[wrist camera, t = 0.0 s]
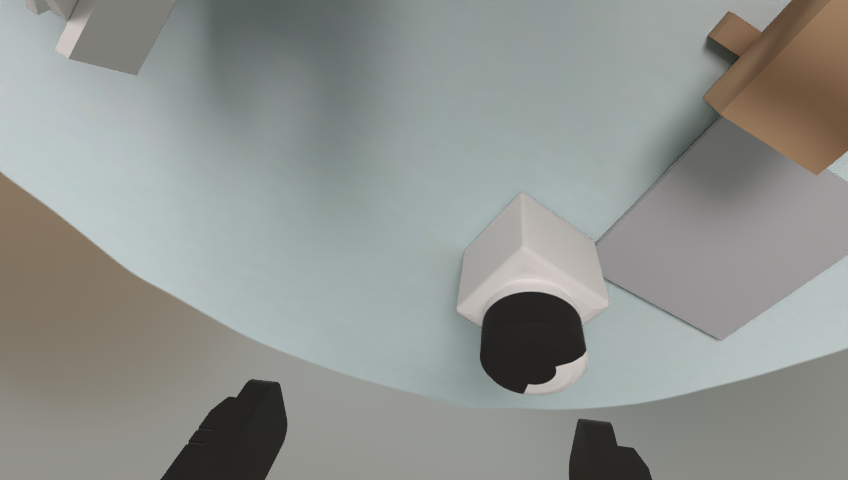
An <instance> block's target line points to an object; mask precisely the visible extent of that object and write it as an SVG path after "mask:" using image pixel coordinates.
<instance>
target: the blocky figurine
mask: <svg viewBox="0 0 848 480" xmlns="http://www.w3.org/2000/svg"><path fill="white" fill-rule="evenodd" d="M609 305H610V301H609V297H608V293H607V289H606V286H605V282H604V278H603V274H602V270H601V266H600V262H599V258H598V254H597V251H596V247H595V243H594V242H593V240H591V239H590V238H588V237H587V236H586V235H584V234H583V233H581V232H580V231H578V230H577V229H576V228H574V227H573V226H571V225H570V224H568V223H567V222H566V221H564V220H563V219H561V218H560V217H558V216H557V215H556V214H554V213H553V212H551V211H550V210H548V209H547V208H546V207H544V206H543V205H541V204H540V203H538V202H537V201H536V200H534V199H533V198H531V197H530V196H529V195H527V194H526V193H520V194H518V195H517V196H516V197H515V198H514V200H513V201H512V202H511V203H510V204H509V205H508V206H507V207H506V208H505V209H504V210H503V211H502V212H501V213H500V214H499V215H498V216H497V217H496V218H495V219H494V220H493V221H492V223H491V224H490V225H489V226H488V227H487V228H486V229H485V230H484V231H483V232H482V233H481V234H480V235H479V236H478V237H477V238H476V239H475V240H474V241H473V242H472V243H471V244H470V245H469V247H468V248H467V249H466V250H465V251H464V256H463V264H462V271H461V278H460V285H459V293H458V300H457V307H456V309H457V312H458V313H459V314H460V315H462V316H463V317H465V318H467V319H468V320H470V321H472V322H473V323H475V324H477V325H478V326H480V327H482V335H481V349H480V361H481V364H482V367H483V369H484V370H485V372H486V373H487V374H488V375H489V376H490V377H491V378H492V379H493V380H494V381H495V382H496V383H498V384H499V385H500V386H502V387H504V388H506V389H508V390H511V391H514V392H517V393H521V394H527V395H545V394H551V393H556V392H559V391H562V390H564V389H566V388H568V387H569V386H571V385H572V384H574V383H575V382H576V381H577V380H578V379H579V378H580V377H581V376H582V375H583V373H584V372H585V370H586V367H587V364H588V354H587V348H586V343H585V337H584V331H583V325H585V324H586V323H587V322H589V321H590V320H591V319H593V318H594V317H596V316H597V315H598V314H600V313H601V312H603V311H604V310H605V309H607V308H608V307H609Z"/></svg>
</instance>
